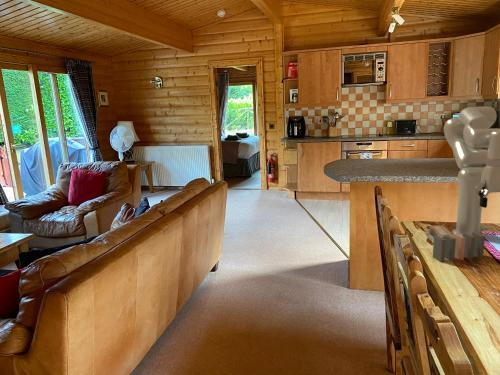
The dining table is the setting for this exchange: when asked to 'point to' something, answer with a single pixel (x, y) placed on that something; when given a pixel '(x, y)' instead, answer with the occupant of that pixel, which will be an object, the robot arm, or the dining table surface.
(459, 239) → the domino
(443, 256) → the domino
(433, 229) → the packaged product
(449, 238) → the domino
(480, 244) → the domino
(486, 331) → the dining table surface
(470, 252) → the domino
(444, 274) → the dining table surface
